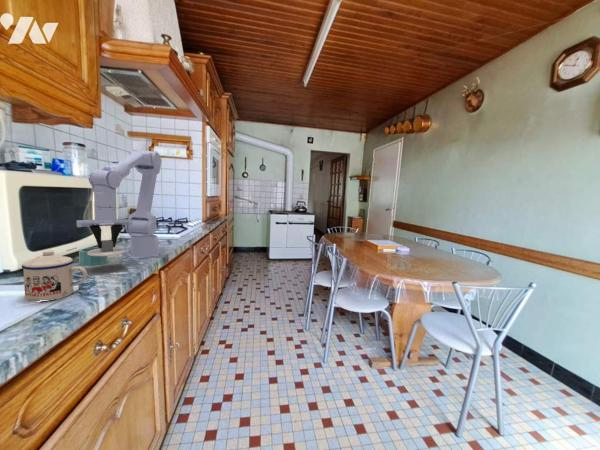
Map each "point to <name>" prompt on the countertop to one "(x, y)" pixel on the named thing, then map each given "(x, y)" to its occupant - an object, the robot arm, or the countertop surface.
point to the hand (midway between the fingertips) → (106, 247)
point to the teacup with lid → (49, 277)
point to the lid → (106, 249)
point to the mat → (106, 269)
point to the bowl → (90, 258)
